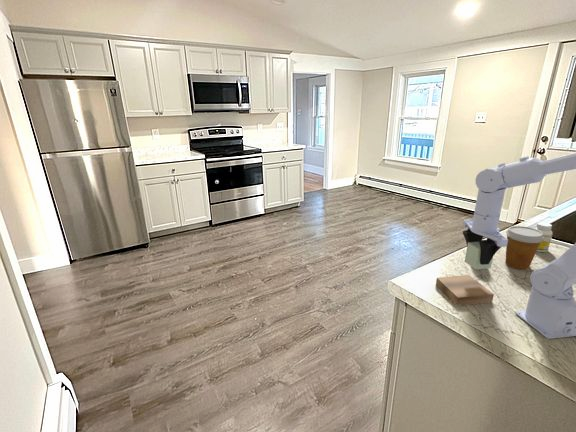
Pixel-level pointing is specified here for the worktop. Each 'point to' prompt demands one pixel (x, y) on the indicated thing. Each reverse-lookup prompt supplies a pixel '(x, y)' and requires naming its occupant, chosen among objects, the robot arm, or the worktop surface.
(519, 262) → the disposable coffee cup
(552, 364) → the worktop surface
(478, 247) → the sage block
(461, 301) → the walnut base
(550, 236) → the supplement bottle
